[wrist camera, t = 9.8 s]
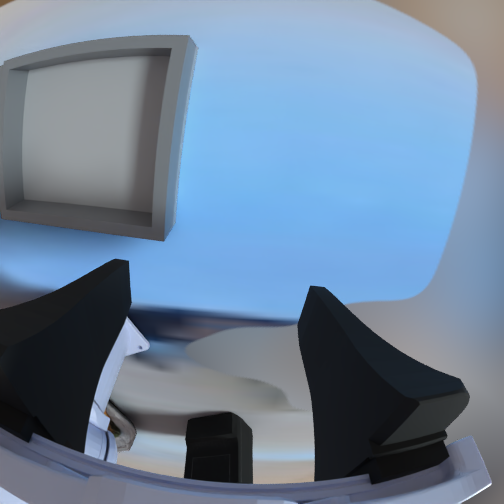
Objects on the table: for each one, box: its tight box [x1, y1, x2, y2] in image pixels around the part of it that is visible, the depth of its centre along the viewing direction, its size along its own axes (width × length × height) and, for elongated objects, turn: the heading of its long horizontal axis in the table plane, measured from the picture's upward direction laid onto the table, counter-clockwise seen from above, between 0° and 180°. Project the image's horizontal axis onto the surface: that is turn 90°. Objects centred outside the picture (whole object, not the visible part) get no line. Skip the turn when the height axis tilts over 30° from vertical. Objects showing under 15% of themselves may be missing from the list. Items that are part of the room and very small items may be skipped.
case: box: [0, 35, 198, 241], centre depth 15 cm, size 14×12×3 cm
